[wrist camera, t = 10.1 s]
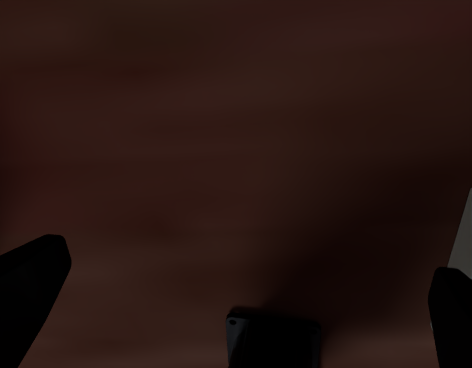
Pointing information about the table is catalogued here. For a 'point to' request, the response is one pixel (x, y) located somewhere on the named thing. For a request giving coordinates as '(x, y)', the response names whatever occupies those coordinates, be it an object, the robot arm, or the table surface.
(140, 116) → the table surface
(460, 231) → the sleeve box
